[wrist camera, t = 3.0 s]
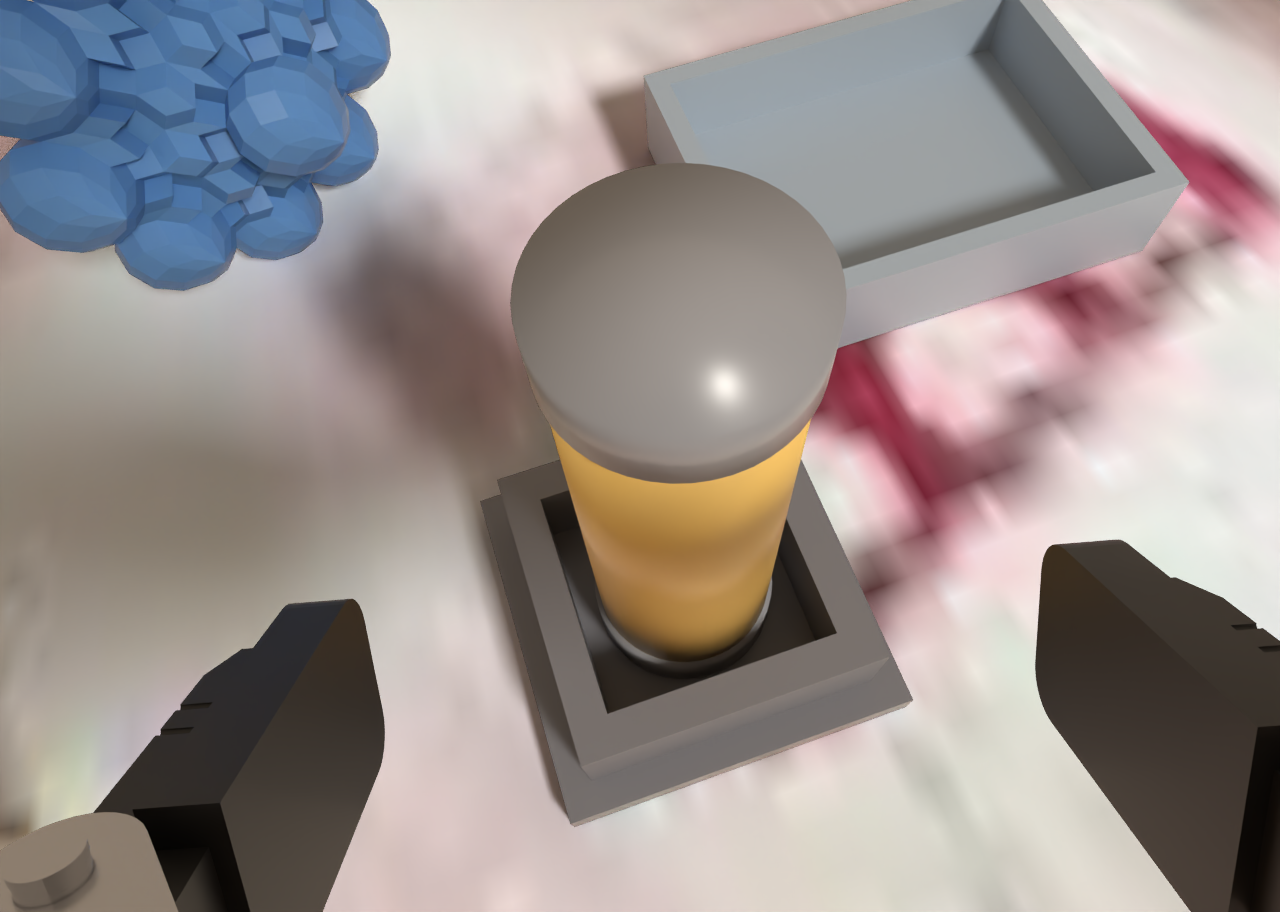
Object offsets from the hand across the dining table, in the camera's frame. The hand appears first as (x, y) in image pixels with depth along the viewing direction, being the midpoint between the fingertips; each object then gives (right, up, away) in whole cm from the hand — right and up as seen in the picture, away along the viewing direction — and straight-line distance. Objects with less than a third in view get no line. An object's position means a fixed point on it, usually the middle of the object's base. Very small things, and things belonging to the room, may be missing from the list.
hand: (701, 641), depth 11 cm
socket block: (0, -1, +12) cm, 12 cm away
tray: (+7, +10, +17) cm, 21 cm away
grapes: (-10, +8, +17) cm, 22 cm away
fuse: (0, -1, +11) cm, 11 cm away
